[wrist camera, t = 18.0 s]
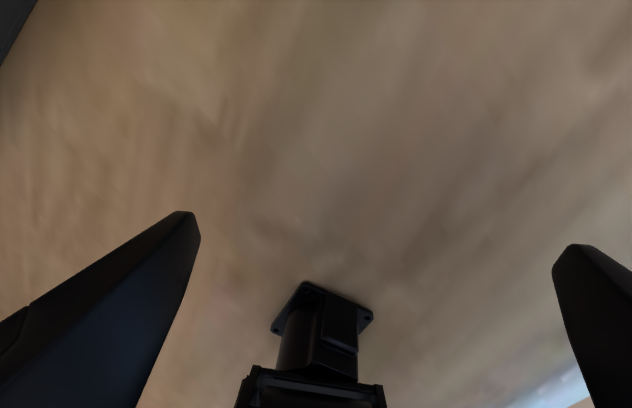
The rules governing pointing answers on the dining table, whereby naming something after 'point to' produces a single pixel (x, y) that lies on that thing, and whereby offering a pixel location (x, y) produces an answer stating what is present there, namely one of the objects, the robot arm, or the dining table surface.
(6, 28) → the dark grey open box
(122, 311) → the robot arm
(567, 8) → the dining table surface
